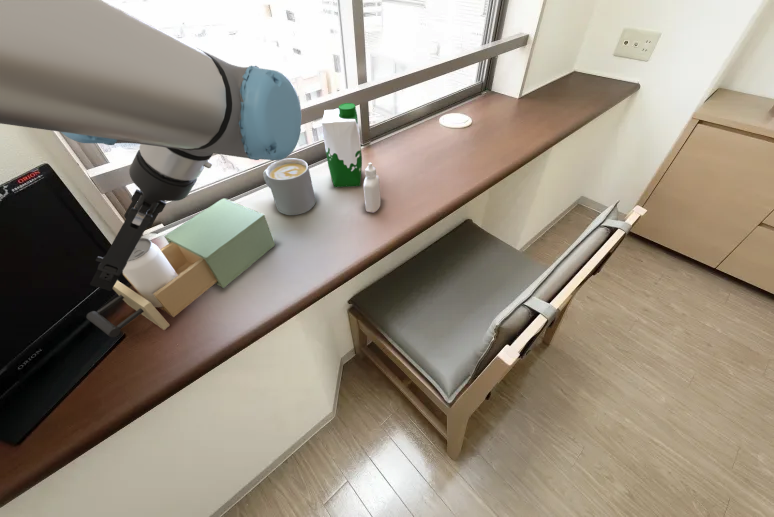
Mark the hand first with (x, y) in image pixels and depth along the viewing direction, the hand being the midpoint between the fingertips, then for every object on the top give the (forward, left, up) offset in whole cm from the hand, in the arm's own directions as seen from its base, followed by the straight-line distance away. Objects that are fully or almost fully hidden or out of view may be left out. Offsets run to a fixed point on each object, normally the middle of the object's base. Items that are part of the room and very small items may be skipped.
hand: (119, 255), depth 56 cm
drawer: (0, -2, -12) cm, 12 cm away
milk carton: (+53, -7, -13) cm, 55 cm away
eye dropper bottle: (+46, -20, -13) cm, 52 cm away
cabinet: (+16, -2, -13) cm, 21 cm away
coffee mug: (+38, 0, -13) cm, 40 cm away
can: (+2, -2, -11) cm, 11 cm away
